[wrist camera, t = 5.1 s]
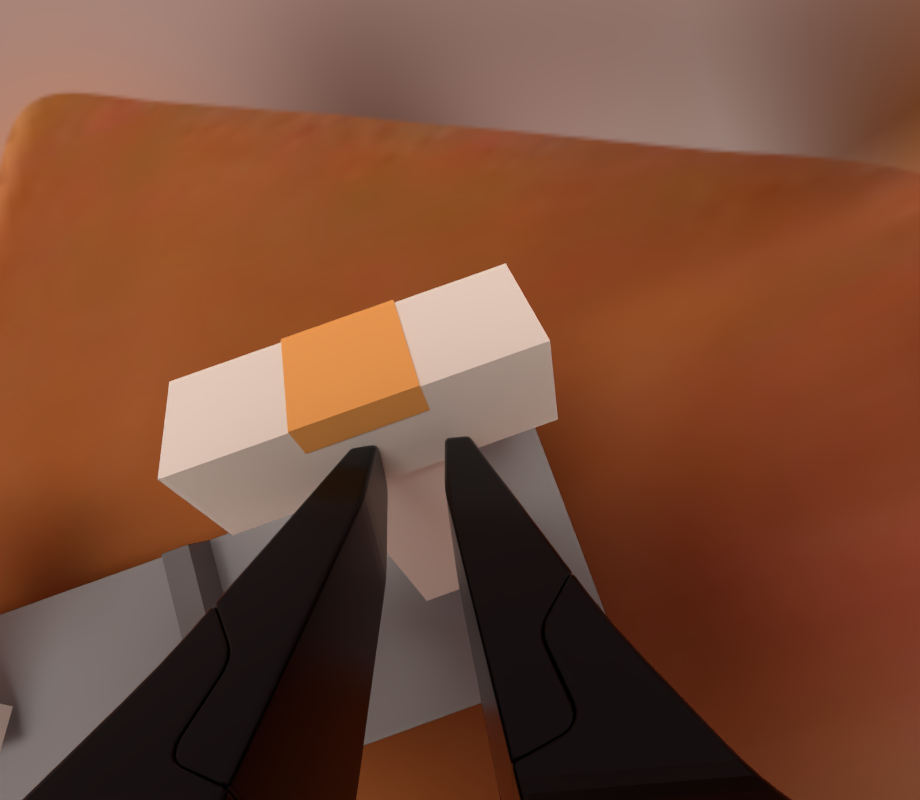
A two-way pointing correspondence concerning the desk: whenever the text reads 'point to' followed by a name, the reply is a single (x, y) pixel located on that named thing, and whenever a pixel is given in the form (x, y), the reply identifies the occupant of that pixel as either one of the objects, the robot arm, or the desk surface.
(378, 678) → the grey ridged base plate
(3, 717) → the switch
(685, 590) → the desk surface
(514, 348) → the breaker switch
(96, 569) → the desk surface
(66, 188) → the desk surface
